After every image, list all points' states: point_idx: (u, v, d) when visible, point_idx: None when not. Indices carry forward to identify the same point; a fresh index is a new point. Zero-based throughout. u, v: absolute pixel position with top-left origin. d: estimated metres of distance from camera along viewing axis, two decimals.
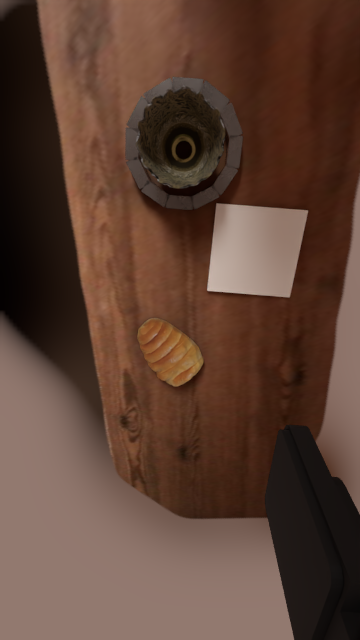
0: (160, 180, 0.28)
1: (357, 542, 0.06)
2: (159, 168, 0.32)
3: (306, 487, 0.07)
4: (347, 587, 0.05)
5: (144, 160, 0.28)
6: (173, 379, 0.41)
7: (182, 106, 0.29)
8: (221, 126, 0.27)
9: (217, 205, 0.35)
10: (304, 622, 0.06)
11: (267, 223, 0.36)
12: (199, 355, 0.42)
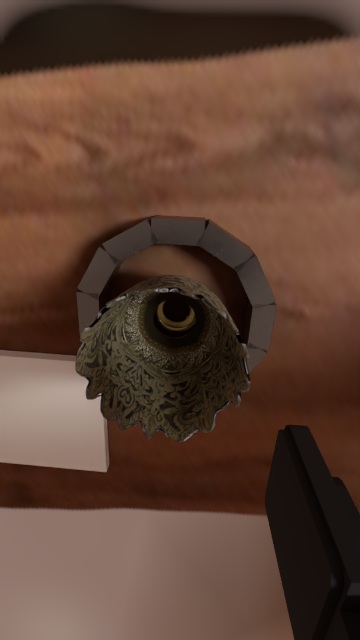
0: (88, 331, 0.14)
1: (357, 542, 0.06)
2: None
3: (306, 487, 0.07)
4: (347, 587, 0.05)
5: (123, 298, 0.13)
6: None
7: (229, 337, 0.17)
8: (186, 432, 0.15)
9: None
10: (304, 622, 0.06)
11: (82, 429, 0.24)
12: None
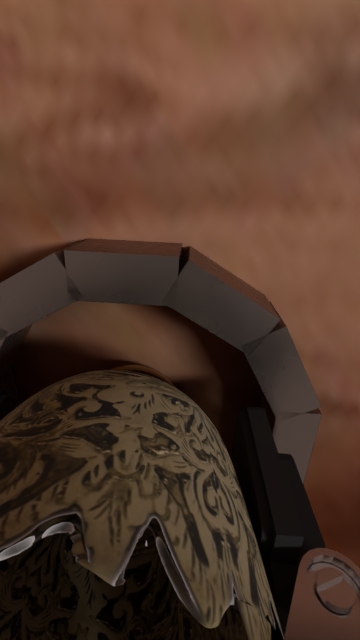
0: None
1: (289, 503, 0.06)
2: None
3: (253, 459, 0.08)
4: (274, 540, 0.06)
5: None
6: None
7: None
8: None
9: None
10: None
11: None
12: None
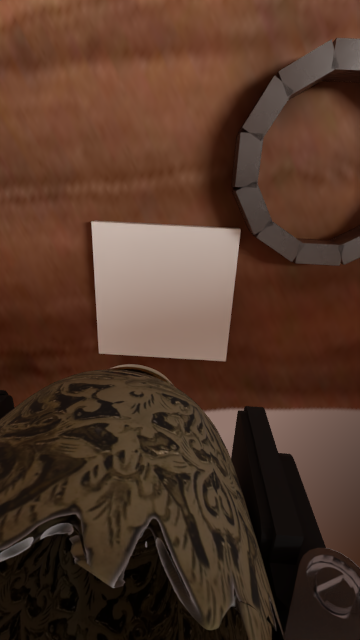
0: None
1: (288, 503, 0.06)
2: None
3: (253, 459, 0.08)
4: (274, 540, 0.06)
5: None
6: None
7: None
8: None
9: (237, 231, 0.21)
10: None
11: (208, 311, 0.24)
12: None
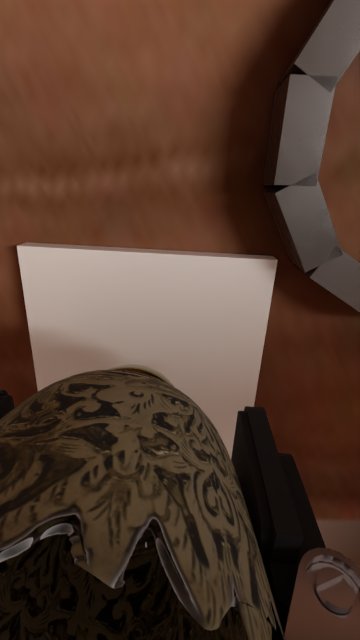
0: None
1: (288, 503, 0.06)
2: None
3: (253, 459, 0.08)
4: (274, 540, 0.06)
5: None
6: None
7: None
8: None
9: (271, 262, 0.12)
10: None
11: (218, 388, 0.14)
12: None
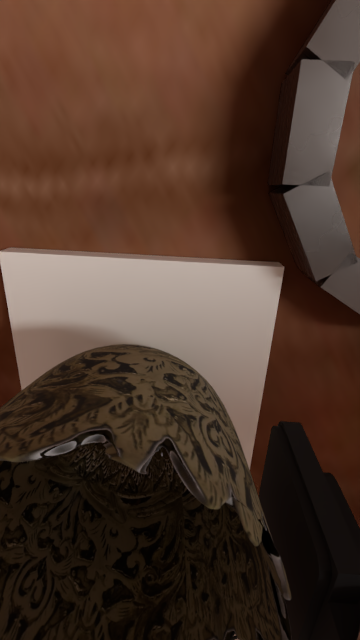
0: None
1: (345, 534, 0.06)
2: None
3: (297, 482, 0.07)
4: (335, 578, 0.05)
5: None
6: None
7: None
8: None
9: (277, 270, 0.11)
10: (294, 614, 0.07)
11: None
12: None
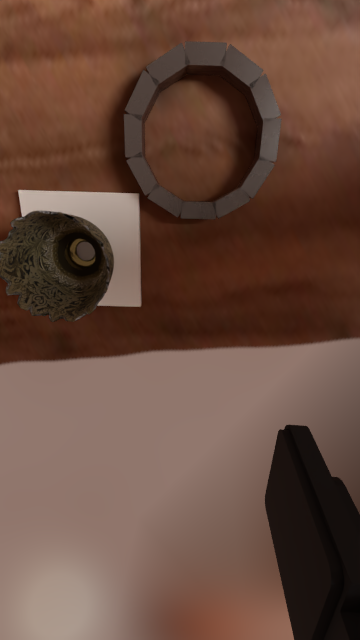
0: (2, 245, 0.21)
1: (357, 542, 0.06)
2: (43, 230, 0.24)
3: (306, 487, 0.07)
4: (347, 587, 0.05)
5: (22, 221, 0.21)
6: None
7: None
8: (78, 315, 0.23)
9: (136, 194, 0.27)
10: (304, 622, 0.06)
11: (121, 263, 0.29)
12: None
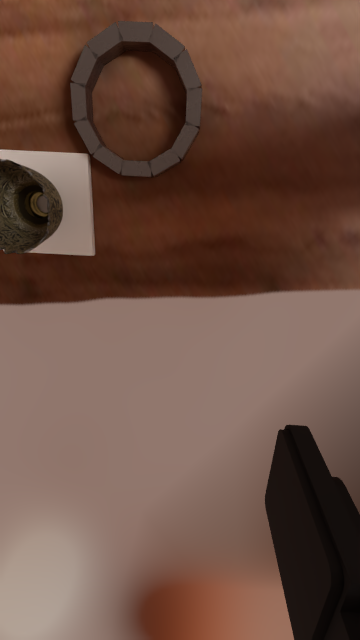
0: None
1: (357, 542, 0.06)
2: (2, 180, 0.29)
3: (306, 487, 0.07)
4: (347, 587, 0.05)
5: None
6: None
7: None
8: (27, 249, 0.28)
9: (85, 155, 0.32)
10: (304, 622, 0.06)
11: (75, 215, 0.34)
12: None
